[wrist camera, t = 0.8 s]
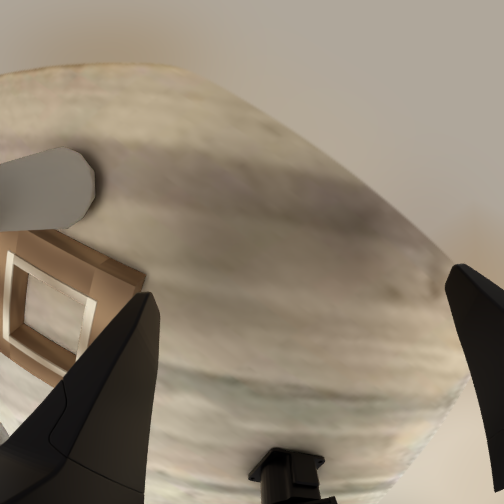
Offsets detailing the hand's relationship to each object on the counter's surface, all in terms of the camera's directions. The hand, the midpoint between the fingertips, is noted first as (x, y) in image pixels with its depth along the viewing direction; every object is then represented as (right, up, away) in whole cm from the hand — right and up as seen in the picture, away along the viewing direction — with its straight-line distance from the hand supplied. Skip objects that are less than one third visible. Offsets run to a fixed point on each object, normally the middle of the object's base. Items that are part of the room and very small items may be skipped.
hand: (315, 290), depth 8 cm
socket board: (-19, -4, +15) cm, 24 cm away
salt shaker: (-15, +6, +12) cm, 21 cm away
